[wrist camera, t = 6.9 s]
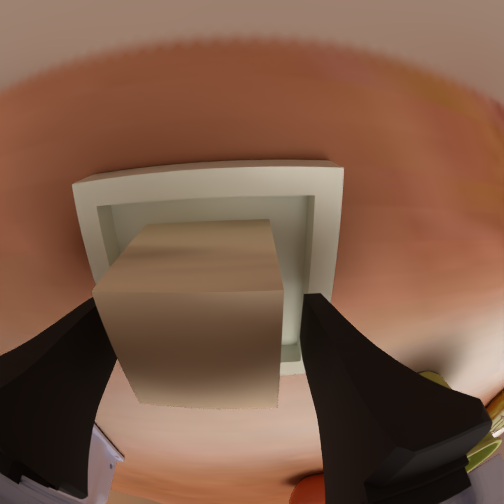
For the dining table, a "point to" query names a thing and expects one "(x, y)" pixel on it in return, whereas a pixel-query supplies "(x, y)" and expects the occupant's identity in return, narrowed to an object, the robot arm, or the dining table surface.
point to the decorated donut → (496, 412)
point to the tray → (226, 218)
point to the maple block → (197, 314)
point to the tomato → (309, 491)
